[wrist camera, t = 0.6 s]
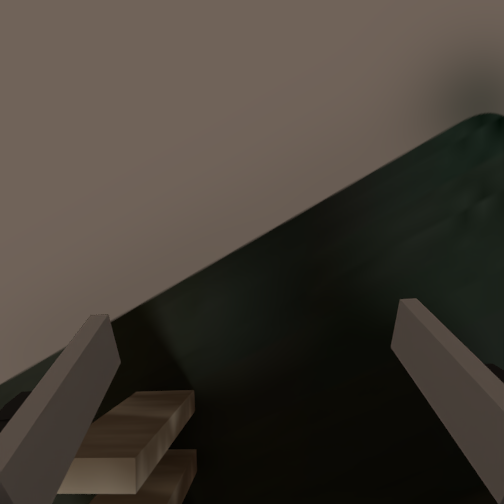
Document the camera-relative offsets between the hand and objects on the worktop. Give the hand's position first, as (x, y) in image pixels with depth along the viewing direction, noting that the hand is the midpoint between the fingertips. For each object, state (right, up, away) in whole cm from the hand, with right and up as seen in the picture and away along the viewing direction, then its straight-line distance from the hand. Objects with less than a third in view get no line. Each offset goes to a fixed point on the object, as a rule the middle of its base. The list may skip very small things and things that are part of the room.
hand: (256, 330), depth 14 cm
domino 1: (-9, -11, +16) cm, 22 cm away
